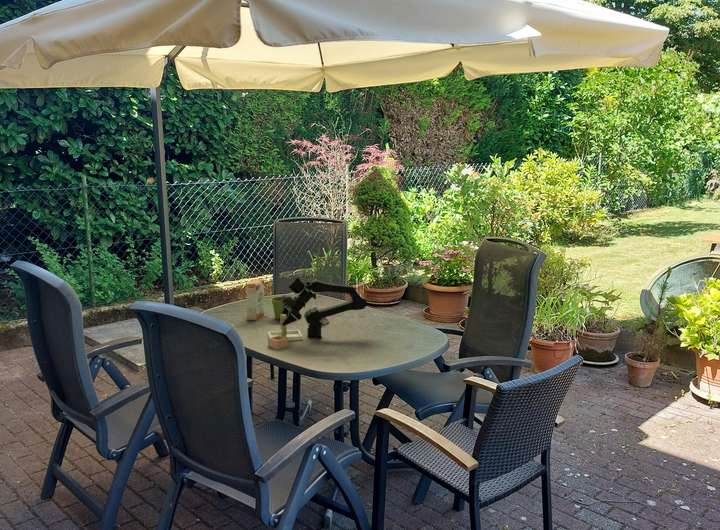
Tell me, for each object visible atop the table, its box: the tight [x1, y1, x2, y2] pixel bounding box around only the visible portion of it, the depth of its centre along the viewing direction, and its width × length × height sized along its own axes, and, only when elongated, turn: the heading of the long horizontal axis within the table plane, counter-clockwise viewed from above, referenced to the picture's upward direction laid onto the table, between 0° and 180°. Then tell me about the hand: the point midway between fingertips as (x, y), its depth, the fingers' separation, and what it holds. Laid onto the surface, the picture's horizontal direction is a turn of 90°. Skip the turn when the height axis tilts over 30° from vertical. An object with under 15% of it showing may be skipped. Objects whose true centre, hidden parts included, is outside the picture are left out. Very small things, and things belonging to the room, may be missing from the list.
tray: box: [267, 329, 304, 342], centre depth 310 cm, size 16×12×2 cm
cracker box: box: [246, 278, 265, 321], centre depth 348 cm, size 14×6×21 cm, turn 171°
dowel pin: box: [279, 314, 288, 337], centre depth 307 cm, size 3×3×12 cm
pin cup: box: [267, 335, 289, 350], centre depth 297 cm, size 7×7×4 cm
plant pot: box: [270, 296, 287, 320], centre depth 348 cm, size 12×12×11 cm
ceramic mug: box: [316, 307, 330, 324], centre depth 339 cm, size 11×8×8 cm
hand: (280, 322), depth 306 cm, fingers open, 9 cm apart
